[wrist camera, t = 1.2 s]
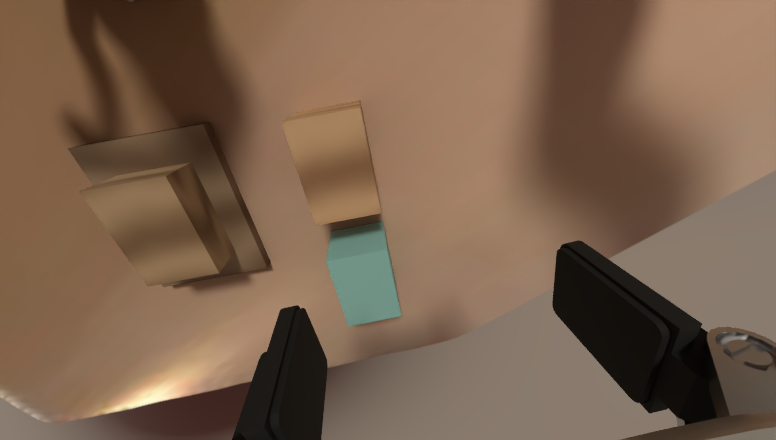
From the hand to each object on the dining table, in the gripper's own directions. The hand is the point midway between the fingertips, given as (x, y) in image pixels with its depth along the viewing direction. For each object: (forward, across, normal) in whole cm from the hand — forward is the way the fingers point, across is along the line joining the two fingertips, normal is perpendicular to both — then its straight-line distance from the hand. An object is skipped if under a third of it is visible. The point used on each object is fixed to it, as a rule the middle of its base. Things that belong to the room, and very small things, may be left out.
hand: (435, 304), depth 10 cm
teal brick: (+22, +4, +11) cm, 25 cm away
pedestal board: (+22, +21, +1) cm, 30 cm away
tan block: (+21, +4, -2) cm, 22 cm away
